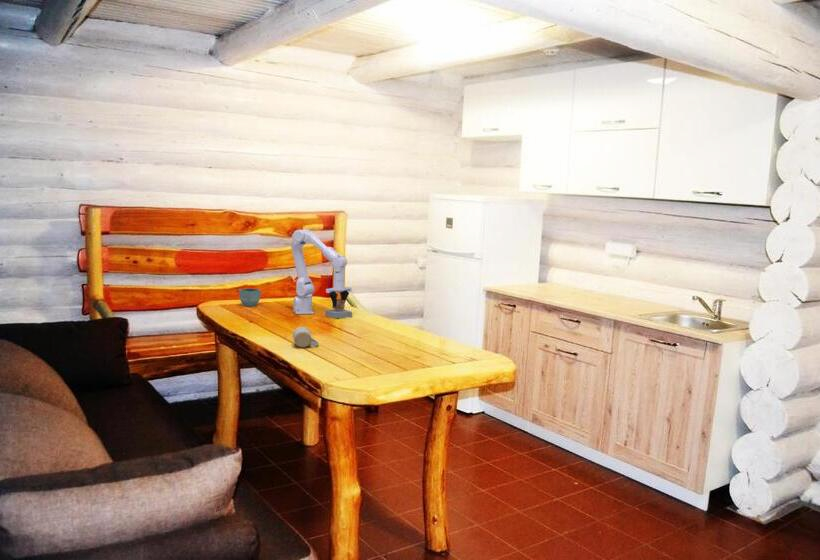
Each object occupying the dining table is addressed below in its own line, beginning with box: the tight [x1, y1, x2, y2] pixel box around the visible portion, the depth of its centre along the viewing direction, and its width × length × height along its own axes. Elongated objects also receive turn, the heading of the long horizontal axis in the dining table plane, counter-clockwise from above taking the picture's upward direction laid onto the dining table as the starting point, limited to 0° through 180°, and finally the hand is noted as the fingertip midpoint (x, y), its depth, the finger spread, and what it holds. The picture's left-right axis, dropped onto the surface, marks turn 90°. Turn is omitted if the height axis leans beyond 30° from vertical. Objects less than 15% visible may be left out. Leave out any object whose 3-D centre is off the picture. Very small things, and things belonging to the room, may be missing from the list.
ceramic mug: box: [292, 326, 319, 349], centre depth 288 cm, size 11×8×8 cm
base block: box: [324, 308, 353, 320], centre depth 355 cm, size 10×10×3 cm
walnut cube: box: [332, 298, 346, 310], centre depth 355 cm, size 4×4×4 cm
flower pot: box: [238, 287, 262, 308], centre depth 376 cm, size 9×9×9 cm
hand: (338, 305), depth 355 cm, fingers closed on walnut cube, 4 cm apart
